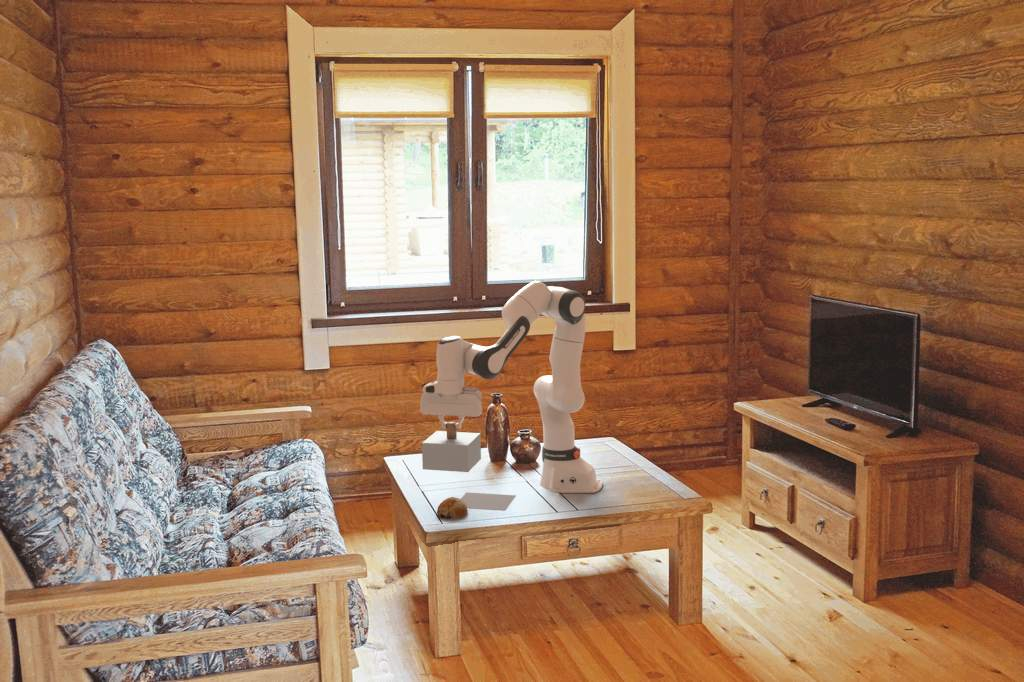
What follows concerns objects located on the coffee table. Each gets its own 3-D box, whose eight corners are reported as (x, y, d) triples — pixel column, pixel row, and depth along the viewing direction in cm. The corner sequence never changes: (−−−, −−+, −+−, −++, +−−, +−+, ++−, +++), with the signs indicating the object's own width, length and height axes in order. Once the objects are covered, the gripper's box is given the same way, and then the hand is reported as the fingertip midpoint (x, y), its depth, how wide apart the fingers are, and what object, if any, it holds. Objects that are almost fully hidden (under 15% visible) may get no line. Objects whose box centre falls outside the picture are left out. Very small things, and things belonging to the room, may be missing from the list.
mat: (516, 497, 356) (516, 495, 356) (505, 512, 340) (505, 510, 340) (466, 493, 360) (466, 492, 360) (453, 508, 345) (453, 507, 344)
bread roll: (469, 528, 336) (477, 505, 337) (444, 521, 330) (453, 498, 331) (453, 520, 344) (461, 497, 345) (428, 513, 338) (437, 490, 339)
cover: (480, 458, 341) (480, 418, 339) (468, 472, 326) (467, 430, 324) (437, 456, 344) (436, 416, 342) (422, 469, 330) (421, 427, 328)
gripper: (484, 385, 332) (484, 427, 334) (424, 383, 336) (425, 424, 339) (479, 390, 326) (479, 432, 328) (417, 387, 330) (418, 429, 333)
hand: (451, 428), depth 333 cm, fingers closed on cover, 3 cm apart
